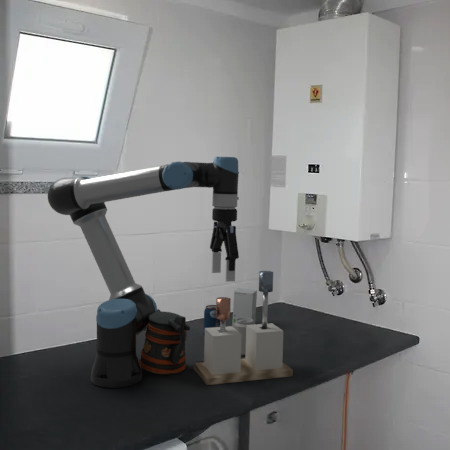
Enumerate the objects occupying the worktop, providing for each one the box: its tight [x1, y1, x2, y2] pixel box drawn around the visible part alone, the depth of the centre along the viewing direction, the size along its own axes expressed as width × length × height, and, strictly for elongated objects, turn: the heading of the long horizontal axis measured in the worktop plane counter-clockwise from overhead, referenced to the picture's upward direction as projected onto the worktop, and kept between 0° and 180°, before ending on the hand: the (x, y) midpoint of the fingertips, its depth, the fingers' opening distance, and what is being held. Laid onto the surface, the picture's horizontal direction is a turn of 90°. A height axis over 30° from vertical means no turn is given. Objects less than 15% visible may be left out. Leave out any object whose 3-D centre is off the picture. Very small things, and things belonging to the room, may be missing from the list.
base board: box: [193, 358, 294, 386], centre depth 186 cm, size 28×14×2 cm, turn 109°
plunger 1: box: [215, 296, 232, 333], centre depth 183 cm, size 4×4×19 cm
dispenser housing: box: [203, 322, 284, 375], centre depth 186 cm, size 23×9×12 cm, turn 109°
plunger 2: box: [258, 270, 274, 329], centre depth 186 cm, size 4×4×19 cm
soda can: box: [203, 304, 220, 337], centre depth 222 cm, size 7×7×12 cm
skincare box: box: [231, 287, 258, 328], centre depth 236 cm, size 8×7×16 cm
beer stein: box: [139, 308, 191, 376], centre depth 185 cm, size 19×15×20 cm
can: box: [234, 318, 256, 357], centre depth 205 cm, size 8×8×12 cm
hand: (222, 276), depth 181 cm, fingers open, 13 cm apart
